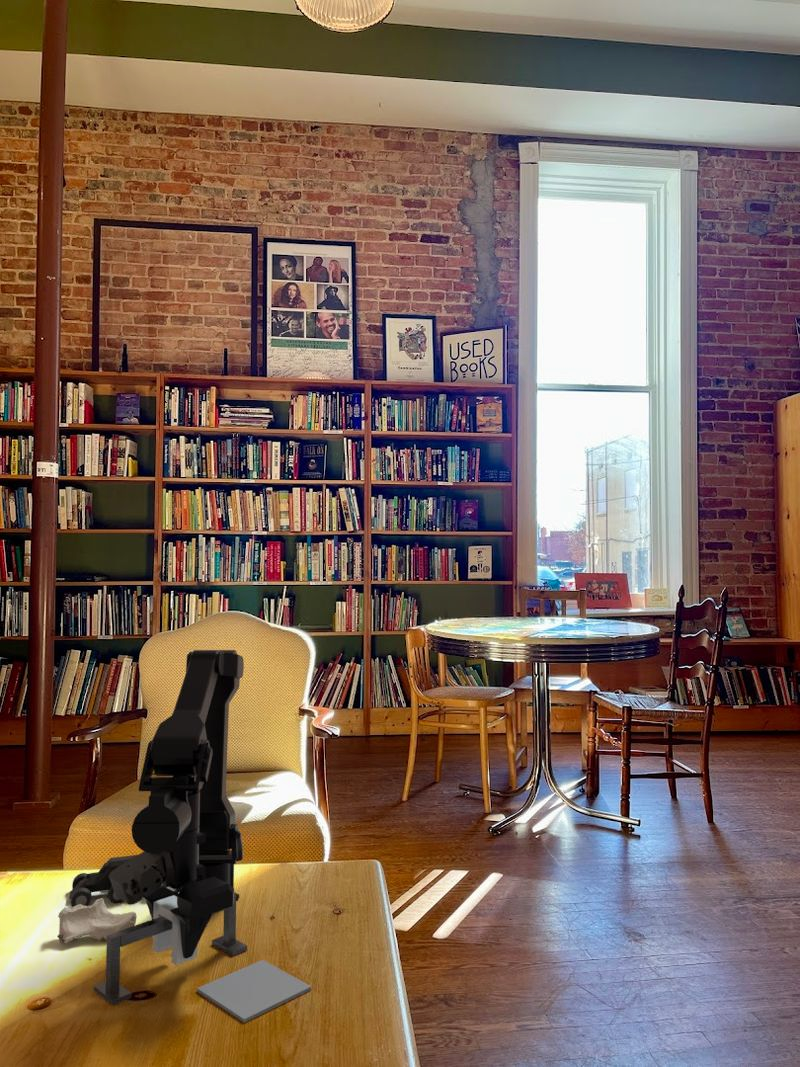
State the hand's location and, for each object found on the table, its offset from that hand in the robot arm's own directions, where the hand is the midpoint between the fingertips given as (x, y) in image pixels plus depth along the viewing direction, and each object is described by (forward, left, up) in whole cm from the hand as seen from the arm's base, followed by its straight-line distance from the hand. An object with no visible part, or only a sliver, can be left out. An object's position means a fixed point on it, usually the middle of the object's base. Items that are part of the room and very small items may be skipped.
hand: (174, 949), depth 101 cm
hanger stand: (0, 0, -2) cm, 2 cm away
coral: (+3, -17, -3) cm, 17 cm away
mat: (-4, +12, -2) cm, 13 cm away
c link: (0, 0, 0) cm, 0 cm away
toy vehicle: (-7, -29, -3) cm, 30 cm away
